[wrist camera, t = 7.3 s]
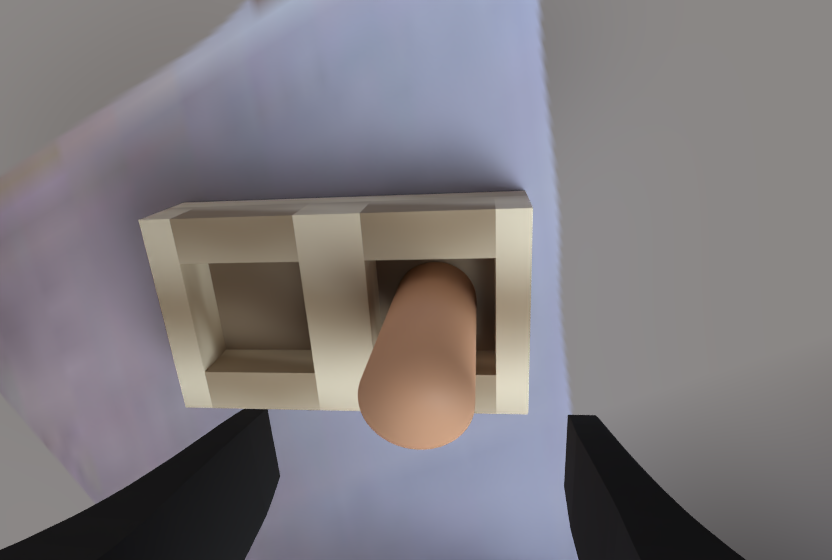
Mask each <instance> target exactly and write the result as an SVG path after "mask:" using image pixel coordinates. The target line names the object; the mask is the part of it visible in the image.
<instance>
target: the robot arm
mask: <svg viewBox="0 0 832 560" xmlns="http://www.w3.org/2000/svg"><path fill="white" fill-rule="evenodd" d="M279 478H280V473H279V468H278V463H277V457H276V452H275V447H274V441H273V436H272V431H271V426H270V420H269V415H268V410H267V409H243V410H241V411H240V412H238V413H236V414H235V415H233V416H232V417H230V418H229V419H227V420H226V421H224V422H223V423H221V424H220V425H218V426H217V427H216V428H214V429H213V430H211V431H210V432H208V433H207V434H206V435H204V436H203V437H201V438H200V439H198V440H197V441H195V442H194V443H193V444H191V445H190V446H188V447H187V448H185V449H184V450H182V451H181V452H180V453H178V454H177V455H175V456H174V457H172V458H171V459H169V460H168V461H166V462H165V463H163V464H161V465H160V466H158V467H157V468H155V469H154V470H152V471H151V472H149V473H147V474H146V475H144V476H143V477H141V478H140V479H138V480H137V481H135V482H133V483H132V484H130V485H129V486H127V487H125V488H124V489H122V490H120V491H118V492H117V493H115V494H113V495H111V496H110V497H108V498H106V499H104V500H103V501H101V502H99V503H97V504H95V505H93V506H92V507H90V508H88V509H86V510H84V511H82V512H80V513H78V514H76V515H75V516H73V517H71V518H68V519H67V520H64V521H62V522H60V523H58V524H56V525H54V526H52V527H50V528H47V529H45V530H43V531H41V532H39V533H37V534H35V535H33V536H31V537H29V538H27V539H24V540H22V541H20V542H18V543H16V544H13V545H11V546H8V547H6V548H4V549H1V550H0V560H245V558H246V556H247V554H248V552H249V550H250V548H251V546H252V544H253V542H254V540H255V538H256V536H257V534H258V532H259V530H260V528H261V526H262V524H263V521H264V519H265V517H266V515H267V512H268V510H269V507H270V504H271V502H272V499H273V496H274V493H275V490H276V487H277V484H278V481H279ZM564 488H565V495H566V502H567V509H568V515H569V522H570V528H571V532H572V536H573V540H574V544H575V548H576V551H577V555H578V559H579V560H745V559H744V558H743V557H741V556H740V555H739V554H737V553H736V552H735V551H733V550H732V549H731V548H730V547H728V546H727V545H726V544H725V543H723V542H722V541H721V540H720V539H718V538H717V537H716V536H715V535H713V534H712V533H711V532H710V531H709V530H707V529H706V528H705V527H703V526H702V525H701V524H700V523H699V522H698V521H697V520H695V519H694V518H693V517H692V516H691V515H690V514H689V513H687V512H686V511H685V510H684V509H683V508H682V507H681V506H680V505H679V504H678V503H677V502H676V501H675V500H674V499H673V498H671V497H670V496H669V495H668V494H667V493H666V492H665V491H664V490H663V489H662V488H661V487H660V486H659V485H658V484H657V483H656V482H655V481H654V480H653V479H652V477H650V475H649V474H648V473H647V472H646V471H645V470H644V469H643V468H642V467H641V466H640V465H639V464H638V463H637V462H636V461H635V460H634V458H633V457H632V456H631V455H630V454H629V453H628V452H627V451H626V450H625V449H624V447H623V446H622V445H621V444H620V443H619V441H617V439H616V438H615V437H614V436H613V435H612V433H611V432H610V431H609V430H608V429H607V427H606V426H605V425H604V424H603V423H602V422H601V420H600V419H599V418H598V417H597V416H595V415H568V424H567V443H566V462H565V481H564Z"/></svg>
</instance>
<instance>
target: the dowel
mask: <svg viewBox="0 0 832 560" xmlns="http://www.w3.org/2000/svg"><path fill="white" fill-rule="evenodd" d="M476 309H477V299H476V292H475V288H474V286H473V284H472V282H471V280H470V279H469V278H468V276H467V275H466V274H465V273H464V272H462V271H461V270H460V269H458V268H457V267H455V266H453V265H450V264H447V263H443V262H427V263H423V264H420V265H418V266H416V267H414V268H412V269H411V270H410V271H408V272H407V273H406V274H405V276H404V277H403V278H402V280H401V281H400V283H399V286H398V288H397V291H396V293H395V296H394V298H393V301H392V303H391V305H390V308H389V310H388V313H387V315H386V318H385V320H384V323H383V325H382V328H381V330H380V333H379V335H378V338H377V340H376V343H375V345H374V348H373V350H372V353H371V355H370V357H369V360H368V362H367V365H366V367H365V370H364V372H363V375H362V377H361V380H360V383H359V387H358V404H359V408H360V411H361V413H362V415H363V418H364V419H365V421H366V422H367V424H368V425H369V426H370V427H371V429H372V430H374V431H375V432H376V433H377V434H378V435H379V436H381V437H382V438H383V439H385V440H387V441H389V442H391V443H393V444H395V445H398V446H401V447H404V448H409V449H433V448H437V447H441V446H444V445H446V444H448V443H450V442H452V441H454V440H455V439H457V438H458V437H459V436H460V435H461V434H463V432H464V431H465V430H466V429H467V427H468V426H469V424H470V423H471V420H472V418H473V415H474V411H475V386H476Z"/></svg>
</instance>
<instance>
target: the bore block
mask: <svg viewBox="0 0 832 560" xmlns="http://www.w3.org/2000/svg"><path fill="white" fill-rule="evenodd" d="M532 222H533V207H532V205H531V203H530V201H529V198H528V196H527V194H526V192H525V191H501V192H473V193H444V194H415V195H387V196H358V197H330V198H301V199H273V200H244V201H215V202H187V203H181V204H178V205H176V206H173V207H171V208H168V209H166V210H163V211H160V212H158V213H155V214H153V215H150V216H148V217H145V218H142V219H140V220H139V224H140V228H141V232H142V236H143V240H144V244H145V248H146V252H147V256H148V260H149V264H150V268H151V272H152V276H153V280H154V284H155V288H156V291H157V295H158V299H159V303H160V307H161V311H162V315H163V319H164V323H165V327H166V331H167V335H168V339H169V343H170V347H171V351H172V355H173V359H174V363H175V367H176V371H177V374H178V378H179V382H180V386H181V390H182V394H183V398H184V402H185V406H186V407H192V408H241V409H290V410H338V411H360V408H359V404H358V387H359V383H360V380H361V377H362V375H363V372H364V370H365V367H366V365H367V362H368V360H369V357H370V355H371V353H372V350H373V348H374V345H375V343H376V340H377V338H378V335H379V333H380V330H381V328H382V325H383V323H384V320H385V318H386V315H387V313H388V310H389V308H390V305H391V303H392V301H393V298H394V296H395V293H396V291H397V288H398V286H399V283H400V281H401V280H402V278H403V277H404V276H405V274H406V273H407V272H408V271H410V270H411V269H412V268H414V267H416V266H418V265H420V264H423V263H427V262H443V263H447V264H450V265H453V266H455V267H457V268H458V269H460V270H461V271H462V272H464V273H465V274H466V275H467V276H468V278H469V279H470V280H471V282H472V284H473V286H474V288H475V292H476V299H477V309H476V386H475V411H474V413H485V414H528V397H529V353H530V309H531V265H532Z"/></svg>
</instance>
